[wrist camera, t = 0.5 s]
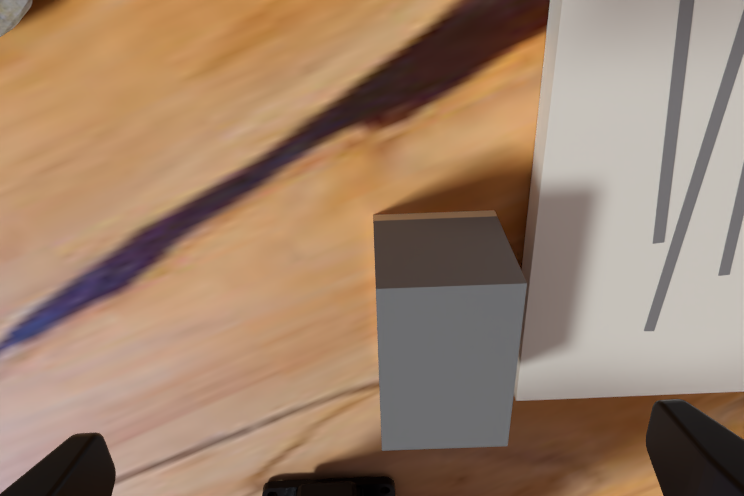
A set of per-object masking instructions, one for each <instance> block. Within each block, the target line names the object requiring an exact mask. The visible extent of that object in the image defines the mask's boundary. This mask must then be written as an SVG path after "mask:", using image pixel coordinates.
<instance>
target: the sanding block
mask: <svg viewBox="0 0 744 496" xmlns="http://www.w3.org/2000/svg"><path fill="white" fill-rule="evenodd" d="M373 223H374V250H375V277H376V304H377V331H378V359H379V385H380V411H381V437H382V451H388V450H415V449H443V448H471V447H498V446H508V438H509V429H510V421H511V413H512V404H513V396H514V388H515V380H516V371H517V363H518V355H519V346H520V338H521V330H522V321H523V313H524V305H525V296H526V288H527V282H526V280H525V278H524V275H523V273H522V271H521V269H520V266H519V264H518V262H517V260H516V257H515V255H514V253H513V251H512V248H511V246H510V244H509V242H508V239H507V237H506V235H505V233H504V230H503V228H502V226H501V224H500V222H499V219H498V217H497V215H496V213H495V210H487V211H461V212H434V213H408V214H381V215H373Z"/></svg>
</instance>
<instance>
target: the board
mask: <svg viewBox="0 0 744 496" xmlns="http://www.w3.org/2000/svg"><path fill="white" fill-rule="evenodd" d="M522 273H523V275H524V278H525V280H526V282H527V288H526V296H525V305H524V313H523V321H522V330H521V338H520V346H519V355H518V363H517V371H516V380H515V388H514V396H515V399H516V401H527V400H552V399H576V398H600V397H624V396H648V395H672V394H697V393H721V392H744V0H550V6H549V15H548V25H547V34H546V44H545V53H544V63H543V72H542V81H541V91H540V100H539V110H538V119H537V129H536V138H535V148H534V157H533V167H532V176H531V186H530V195H529V205H528V214H527V223H526V233H525V242H524V252H523V261H522Z"/></svg>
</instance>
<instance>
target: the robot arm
mask: <svg viewBox="0 0 744 496" xmlns="http://www.w3.org/2000/svg"><path fill="white" fill-rule="evenodd" d="M646 447H647V451H648V454H649V457H650V460H651V462H652V465H653V468H654V471H655V473H656V476H657V479H658V482H659V484H660V487H661V490H662V493H663V495H664V496H744V439H742V438H741V437H739V436H738V435H736V434H735V433H733V432H732V431H730V430H729V429H727V428H726V427H724V426H723V425H721V424H720V423H718V422H717V421H715V420H713V419H712V418H710V417H709V416H707V415H706V414H704V413H703V412H701V411H700V410H698V409H697V408H695V407H694V406H692V405H691V404H689V403H688V402H686V401H684V400H681V399H672V400H659V401H657V402H655V404H654V405H653V408H652V412H651V417H650V421H649V425H648V430H647V434H646ZM115 477H116V472H115V466H114V463H113V461H112V458H111V455H110V453H109V450H108V448H107V445H106V442H105V440H104V438H103V436H102V435H101V434H99V433H80V434H75V435H72V436H71V437H69V438H68V439H67V440H66V441H64V442H63V443H62V444H61V445H59V446H58V447H57V448H56V449H55V450H53V451H52V452H51V453H50V454H48V455H47V456H46V457H45V458H44V459H42V460H41V461H40V462H39V463H37V464H36V465H35V466H34V467H32V468H31V469H30V470H29V471H28V472H26V473H25V474H24V475H23V476H21V477H20V478H19V479H18V480H17V481H15V482H14V483H13V484H12V485H10V486H9V487H8V488H7V489H6V490H4V491H3V492H2V493H1V494H0V496H111V495H112V491H113V487H114V483H115ZM262 496H395V483H394V480H393V479H392V478H389V477H366V478H341V479H316V480H292V481H271V482H268V483H266V484H265V485H264V487H263V494H262Z"/></svg>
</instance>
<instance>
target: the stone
mask: <svg viewBox="0 0 744 496" xmlns="http://www.w3.org/2000/svg"><path fill="white" fill-rule="evenodd" d="M31 4H32V0H0V37H1V36H2V35H4V34H6V33H7V32H9V31H10V30H12V29H13V28H14V27H15V26H16V25H17V24H18V23H19V22H20V20H21V19H22V18H23V16H24V15H25V14H26V12H27V11H28V10H29V9H30V7H31Z"/></svg>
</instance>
